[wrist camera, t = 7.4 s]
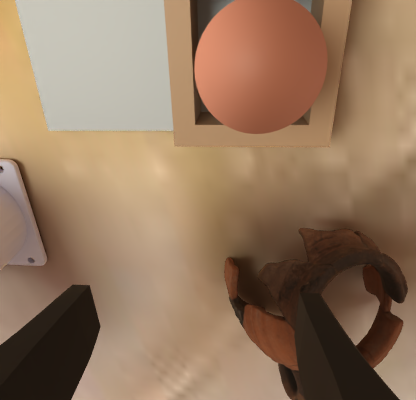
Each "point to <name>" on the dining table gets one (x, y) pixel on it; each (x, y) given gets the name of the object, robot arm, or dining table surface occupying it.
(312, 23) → the pin
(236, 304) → the brown curved piece
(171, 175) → the dining table surface
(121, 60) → the mount
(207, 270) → the dining table surface
